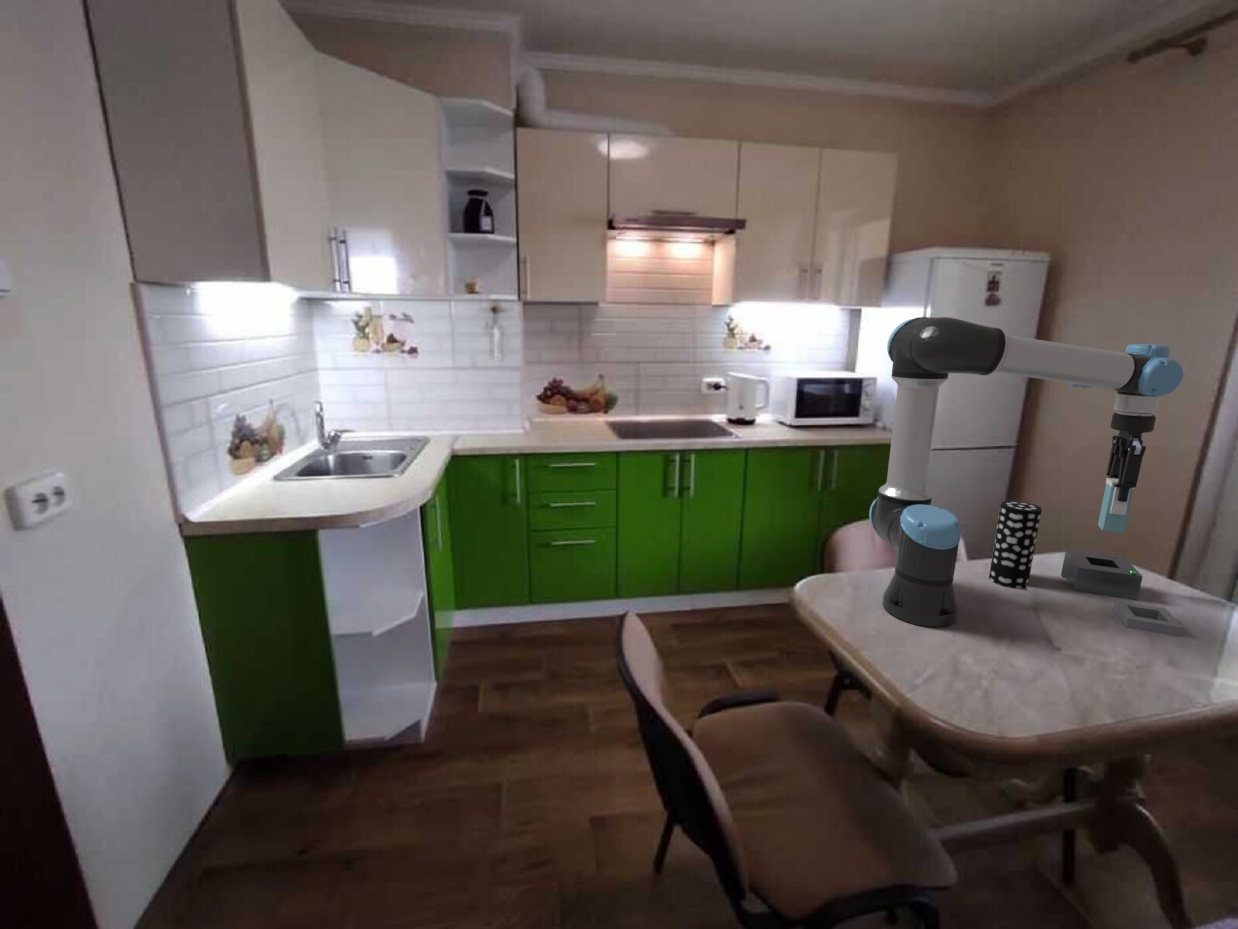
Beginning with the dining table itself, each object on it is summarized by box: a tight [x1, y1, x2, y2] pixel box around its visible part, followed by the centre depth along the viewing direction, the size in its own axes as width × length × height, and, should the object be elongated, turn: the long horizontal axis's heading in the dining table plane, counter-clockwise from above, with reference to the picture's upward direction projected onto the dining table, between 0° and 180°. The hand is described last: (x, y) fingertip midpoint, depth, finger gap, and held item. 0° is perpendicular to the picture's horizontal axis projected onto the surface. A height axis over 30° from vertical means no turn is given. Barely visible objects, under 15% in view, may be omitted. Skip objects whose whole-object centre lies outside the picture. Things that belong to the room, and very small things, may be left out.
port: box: [1060, 549, 1143, 601], centre depth 143 cm, size 12×12×7 cm
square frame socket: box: [1111, 600, 1184, 637], centre depth 126 cm, size 9×9×3 cm
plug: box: [1097, 477, 1135, 534], centre depth 138 cm, size 4×4×12 cm
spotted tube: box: [988, 500, 1043, 589], centre depth 146 cm, size 8×8×20 cm
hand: (1114, 510), depth 139 cm, fingers closed on plug, 4 cm apart
